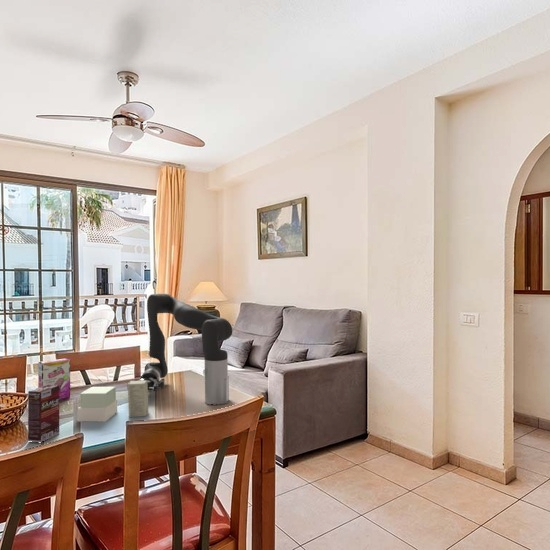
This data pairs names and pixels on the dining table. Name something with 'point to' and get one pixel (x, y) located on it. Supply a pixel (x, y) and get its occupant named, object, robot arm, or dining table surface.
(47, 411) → the supplement box
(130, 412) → the skincare box
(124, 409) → the dining table surface
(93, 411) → the tower base block
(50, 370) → the candy bar box
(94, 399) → the tower top block
